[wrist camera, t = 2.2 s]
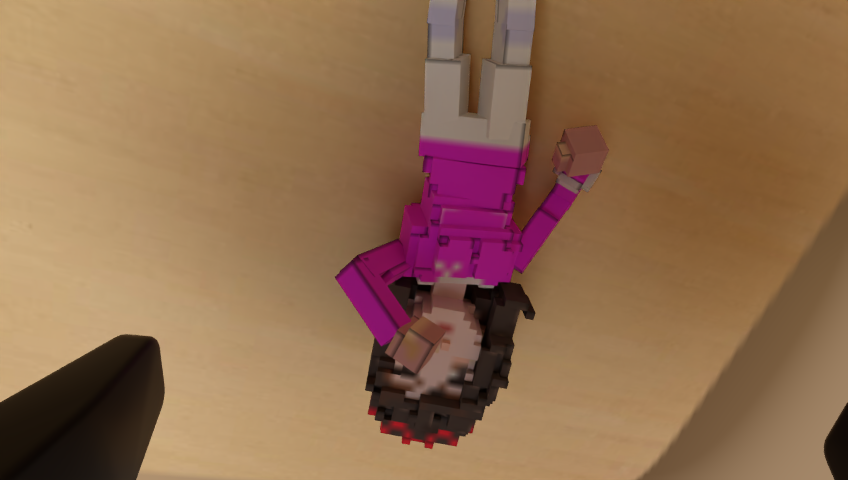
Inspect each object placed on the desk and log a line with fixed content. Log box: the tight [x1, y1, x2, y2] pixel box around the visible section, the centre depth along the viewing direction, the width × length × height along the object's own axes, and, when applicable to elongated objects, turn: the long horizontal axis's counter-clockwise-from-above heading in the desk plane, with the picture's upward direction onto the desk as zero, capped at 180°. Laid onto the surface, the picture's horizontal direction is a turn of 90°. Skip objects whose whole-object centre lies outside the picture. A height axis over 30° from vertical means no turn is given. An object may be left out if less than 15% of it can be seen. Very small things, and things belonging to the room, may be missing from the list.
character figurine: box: [335, 0, 609, 449], centre depth 13 cm, size 6×5×12 cm
